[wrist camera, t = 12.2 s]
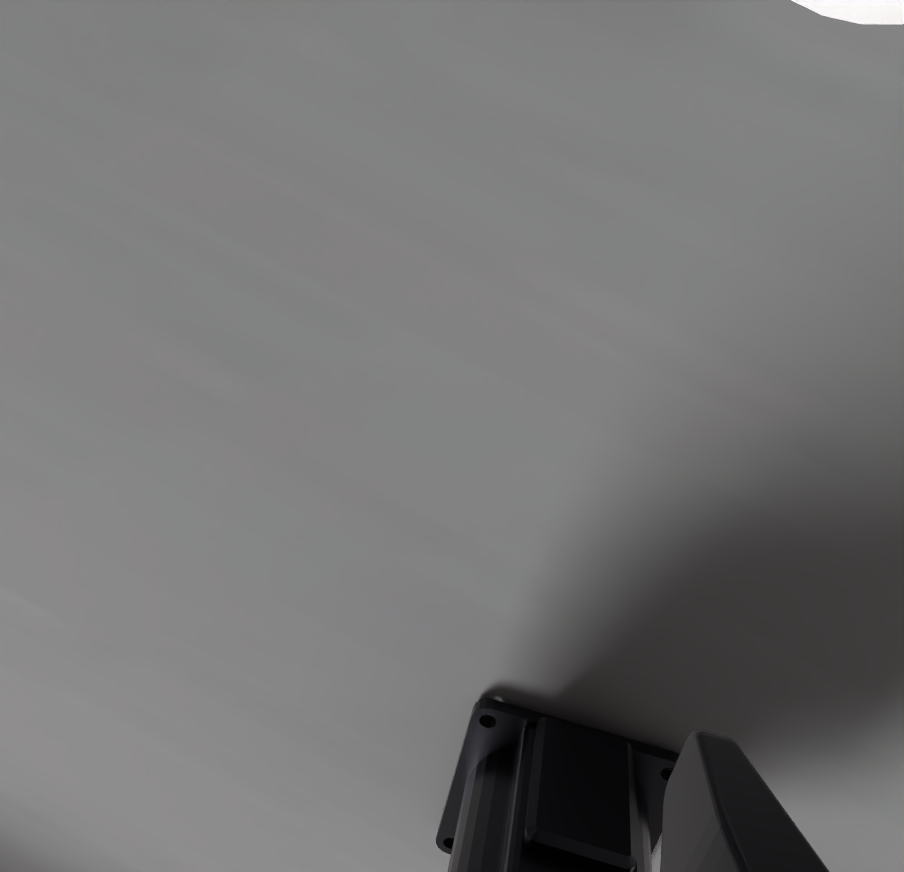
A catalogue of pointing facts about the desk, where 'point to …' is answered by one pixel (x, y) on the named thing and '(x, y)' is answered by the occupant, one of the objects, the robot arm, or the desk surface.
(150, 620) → the desk surface
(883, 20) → the hook
